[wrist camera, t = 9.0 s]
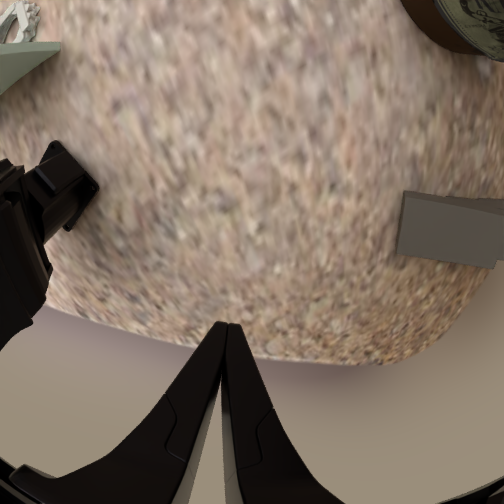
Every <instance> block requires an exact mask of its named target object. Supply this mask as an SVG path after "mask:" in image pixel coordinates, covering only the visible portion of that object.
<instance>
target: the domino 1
mask: <svg viewBox="0 0 504 504" xmlns="http://www.w3.org/2000/svg"><path fill="white" fill-rule="evenodd" d="M503 241H504V210H501V209H497V208H493V207H489V206H485V205H480V204H476V203H471V202H467V201H462V200H457V199H452V198H447V197H441V196H436V195H430V194H424V193H418V192H412V191H405V190H404V191H403V200H402V207H401V214H400V221H399V227H398V233H397V239H396V244H395V245H396V254H400V255H407V256H413V257H420V258H426V259H433V260H439V261H445V262H452V263H458V264H464V265H470V266H476V267H482V268H488V269H494V267H495V264H496V261H497V259H498V256H499V253H500V250H501V247H502V244H503Z"/></svg>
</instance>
